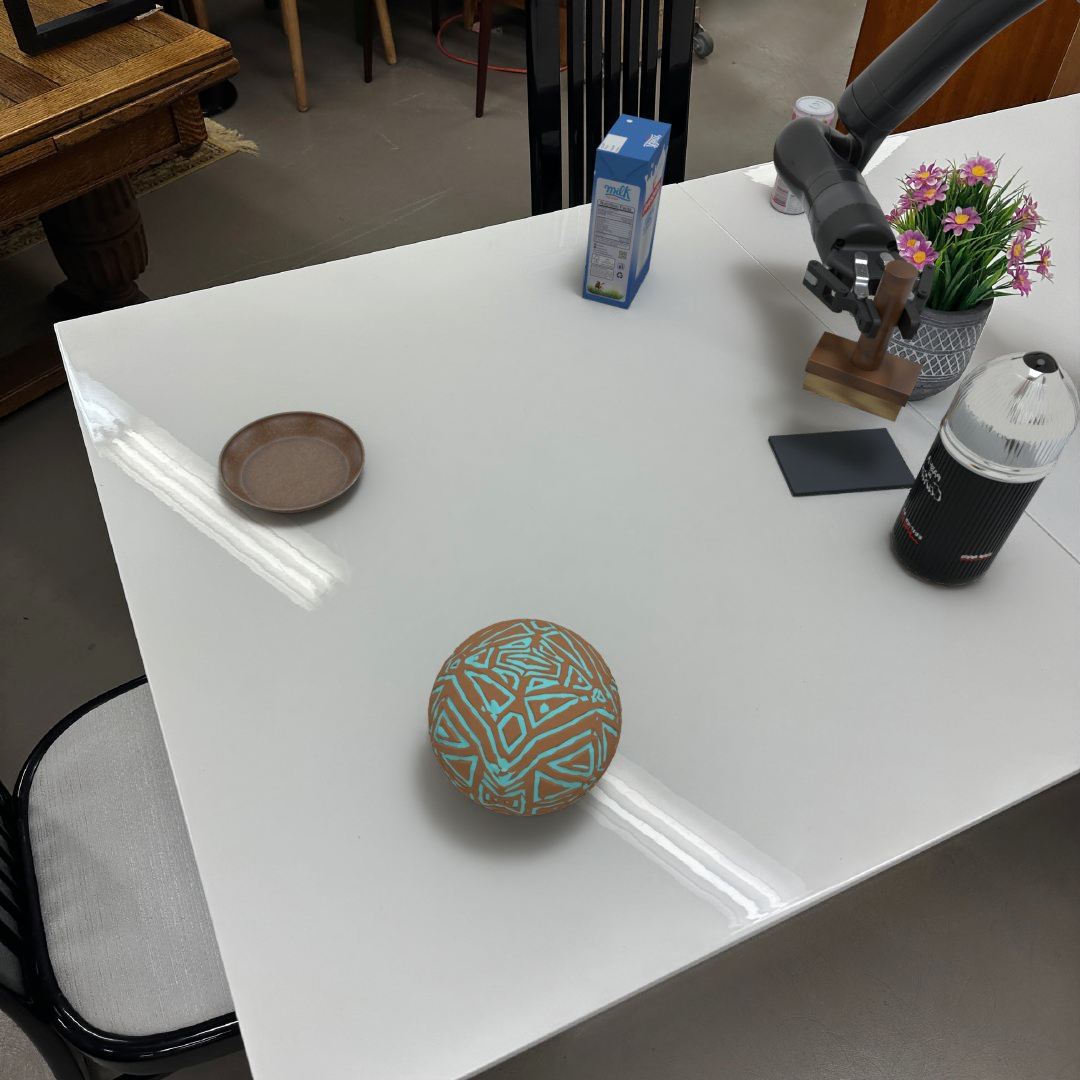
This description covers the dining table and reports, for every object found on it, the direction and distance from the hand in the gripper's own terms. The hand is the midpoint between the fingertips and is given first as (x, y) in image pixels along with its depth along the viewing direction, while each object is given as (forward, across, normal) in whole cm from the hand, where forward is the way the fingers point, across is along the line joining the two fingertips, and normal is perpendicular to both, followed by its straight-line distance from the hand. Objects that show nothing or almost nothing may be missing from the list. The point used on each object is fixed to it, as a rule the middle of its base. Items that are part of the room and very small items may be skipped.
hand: (893, 331), depth 92 cm
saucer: (+3, -59, +19) cm, 62 cm away
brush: (-3, 0, +10) cm, 10 cm away
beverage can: (-56, +6, +19) cm, 59 cm away
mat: (-1, 0, +18) cm, 18 cm away
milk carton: (-34, -22, +19) cm, 45 cm away
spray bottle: (+12, +7, +18) cm, 23 cm away
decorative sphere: (+36, -35, +18) cm, 54 cm away
